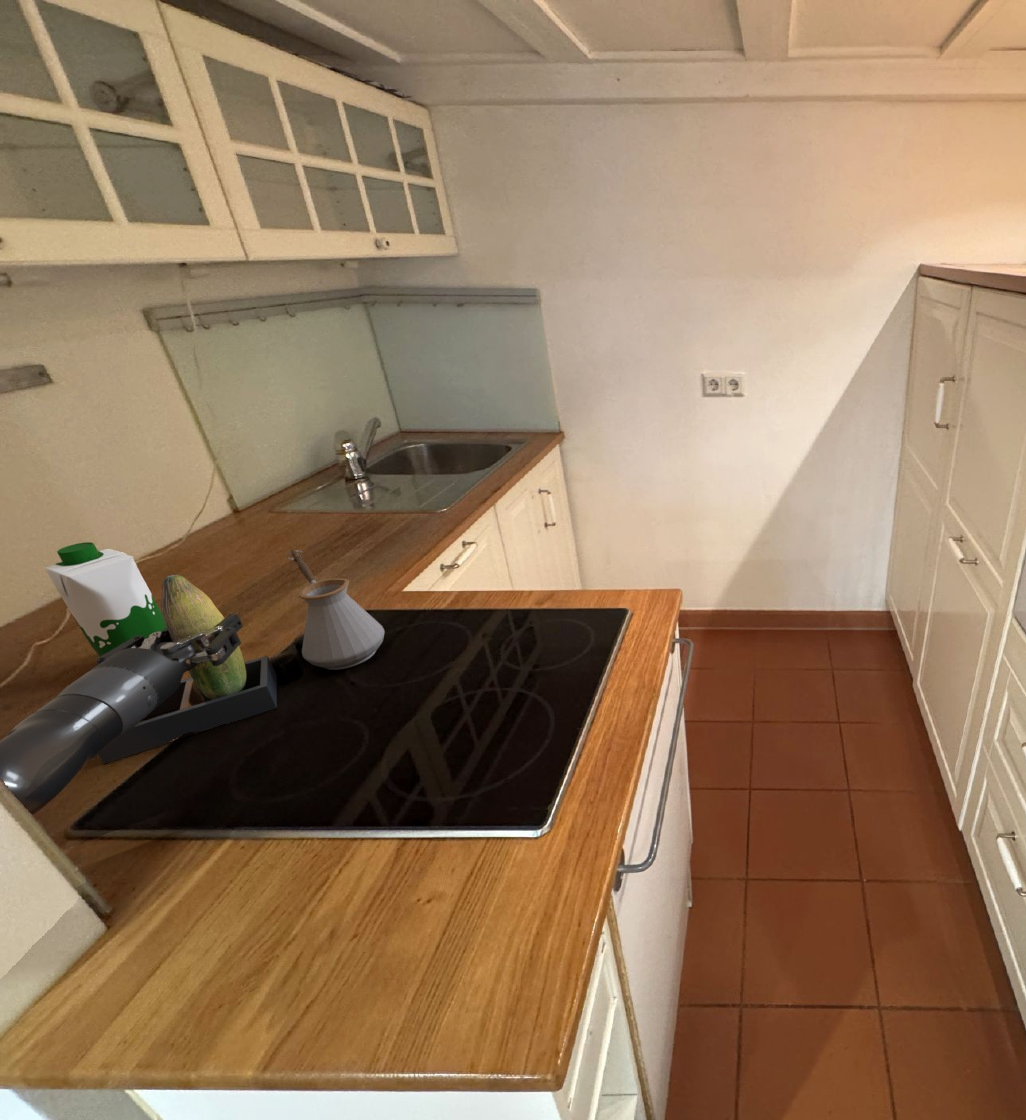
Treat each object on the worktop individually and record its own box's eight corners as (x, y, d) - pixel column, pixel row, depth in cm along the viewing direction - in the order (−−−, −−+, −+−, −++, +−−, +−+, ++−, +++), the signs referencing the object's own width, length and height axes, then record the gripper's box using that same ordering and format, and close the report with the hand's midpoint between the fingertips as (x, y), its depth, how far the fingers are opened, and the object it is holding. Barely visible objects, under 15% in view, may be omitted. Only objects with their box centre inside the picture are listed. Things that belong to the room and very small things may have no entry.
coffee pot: (400, 653, 101) (372, 572, 94) (320, 686, 93) (283, 601, 87) (357, 611, 114) (330, 537, 107) (284, 637, 106) (250, 560, 100)
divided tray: (103, 764, 79) (88, 740, 77) (118, 724, 86) (104, 702, 85) (276, 708, 89) (266, 685, 87) (277, 676, 96) (267, 655, 94)
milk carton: (161, 639, 107) (105, 534, 98) (189, 650, 103) (133, 543, 94) (96, 666, 99) (28, 556, 91) (123, 679, 96) (56, 566, 87)
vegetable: (265, 681, 93) (212, 563, 84) (250, 706, 87) (192, 582, 79) (216, 691, 91) (157, 571, 82) (199, 716, 85) (133, 591, 77)
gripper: (171, 661, 71) (257, 593, 86) (29, 675, 69) (143, 603, 84) (198, 713, 74) (276, 639, 89) (64, 727, 72) (167, 649, 87)
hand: (211, 622), depth 86 cm, fingers closed on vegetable, 6 cm apart
